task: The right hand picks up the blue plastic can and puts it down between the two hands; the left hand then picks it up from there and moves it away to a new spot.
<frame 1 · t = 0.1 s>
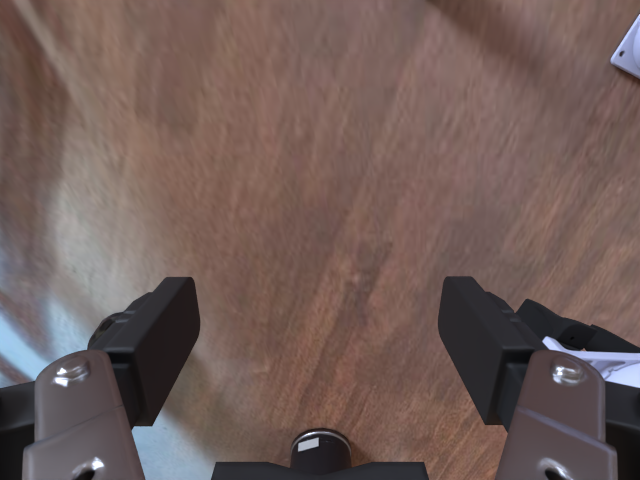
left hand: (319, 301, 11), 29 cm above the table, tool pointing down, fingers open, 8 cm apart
figurine: (131, 346, 48), on the table
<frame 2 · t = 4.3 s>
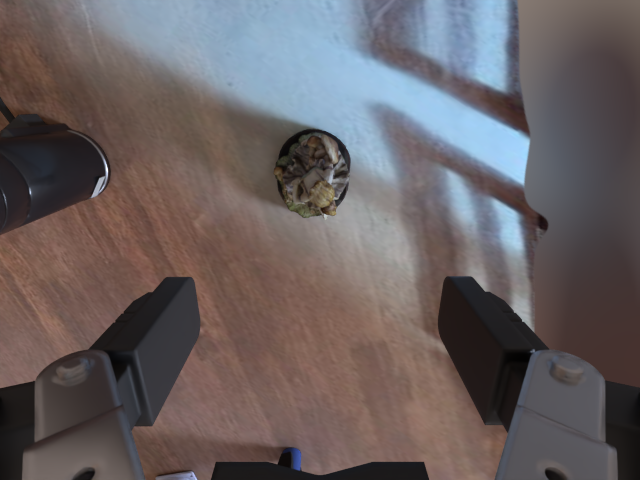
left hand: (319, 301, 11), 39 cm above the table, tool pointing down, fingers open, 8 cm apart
can: (291, 454, 69), on the table, touching right hand
figurine: (313, 174, 48), on the table
when the right hand's fingers open (2 cm above the table, at t = 9.6 s): can stays where it is, on the table.
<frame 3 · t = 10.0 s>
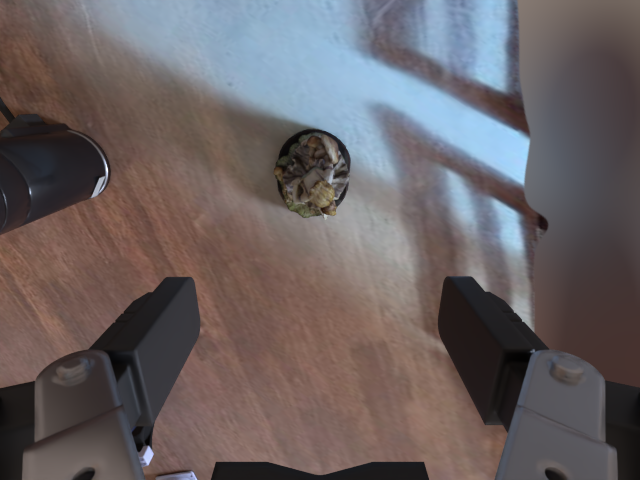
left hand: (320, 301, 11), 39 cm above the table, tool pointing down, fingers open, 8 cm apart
figurine: (313, 174, 48), on the table
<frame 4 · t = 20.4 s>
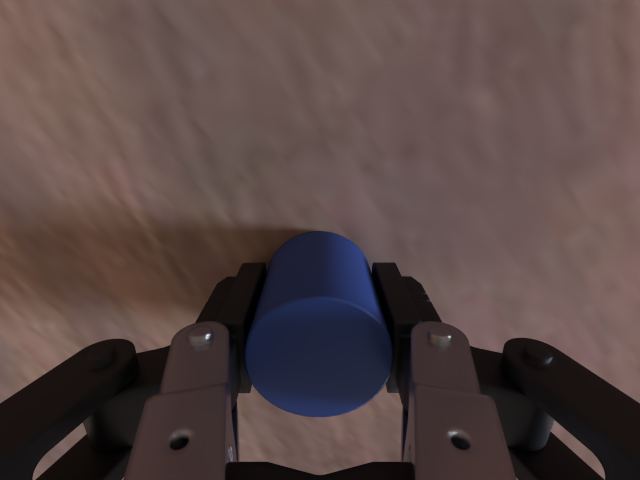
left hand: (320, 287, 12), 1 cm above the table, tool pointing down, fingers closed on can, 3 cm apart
can: (319, 278, 13), on the table, touching left hand
when the left hand's fingers open (1 cm above the table, at t = 27.1 s): can stays where it is, on the table.
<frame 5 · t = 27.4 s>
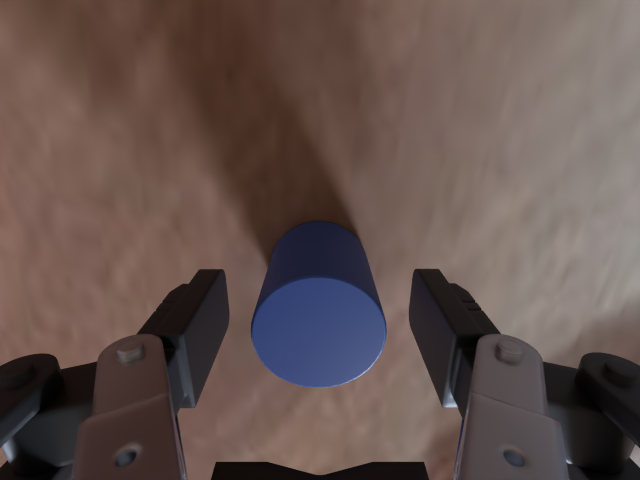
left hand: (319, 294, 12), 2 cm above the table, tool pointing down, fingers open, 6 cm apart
can: (319, 265, 13), on the table
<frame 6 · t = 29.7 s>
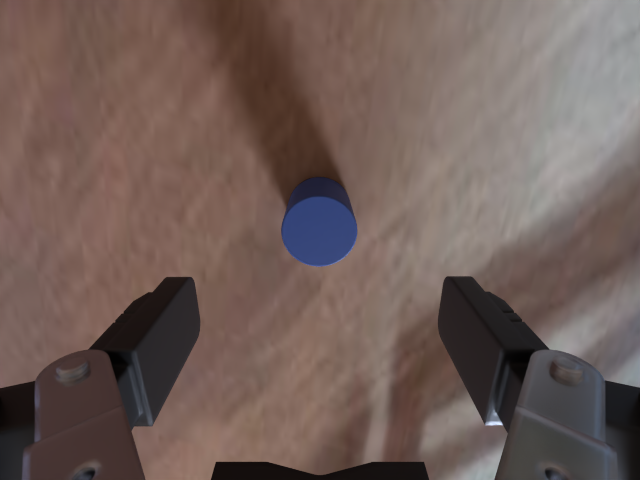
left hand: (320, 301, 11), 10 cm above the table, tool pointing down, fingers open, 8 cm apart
can: (319, 207, 21), on the table
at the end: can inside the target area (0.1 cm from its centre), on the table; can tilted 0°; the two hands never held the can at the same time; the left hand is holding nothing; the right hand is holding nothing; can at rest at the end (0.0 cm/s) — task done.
